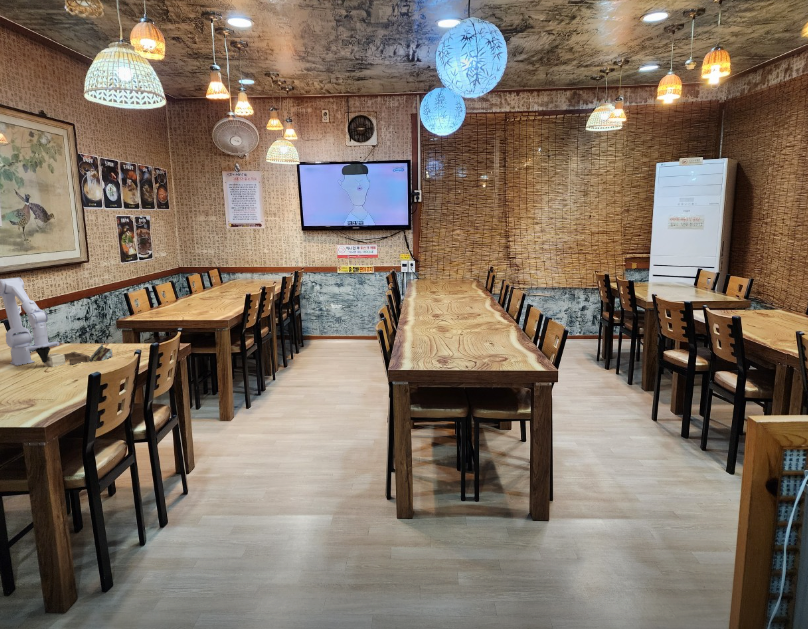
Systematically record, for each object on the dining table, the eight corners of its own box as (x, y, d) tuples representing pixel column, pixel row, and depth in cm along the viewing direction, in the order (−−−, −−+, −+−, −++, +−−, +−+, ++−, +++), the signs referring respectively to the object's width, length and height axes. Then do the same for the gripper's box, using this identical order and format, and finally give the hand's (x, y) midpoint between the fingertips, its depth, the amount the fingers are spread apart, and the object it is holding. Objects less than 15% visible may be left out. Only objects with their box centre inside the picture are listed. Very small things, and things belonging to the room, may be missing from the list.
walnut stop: (57, 360, 272) (56, 354, 271) (74, 356, 278) (74, 351, 278) (72, 365, 261) (71, 359, 261) (90, 361, 268) (89, 355, 268)
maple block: (44, 365, 262) (42, 355, 262) (56, 362, 268) (55, 353, 267) (53, 367, 259) (51, 357, 258) (65, 364, 264) (64, 354, 263)
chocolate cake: (101, 363, 267) (113, 343, 273) (88, 359, 266) (100, 340, 273) (107, 371, 275) (118, 352, 281) (93, 367, 274) (105, 348, 281)
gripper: (26, 339, 248) (30, 366, 251) (60, 334, 260) (64, 360, 262) (21, 337, 252) (25, 364, 255) (54, 332, 264) (58, 358, 266)
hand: (44, 362), depth 259 cm, fingers closed
